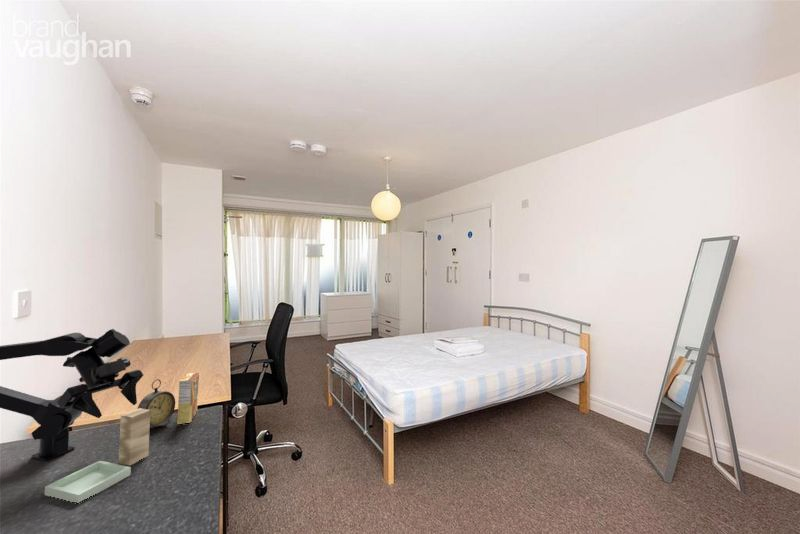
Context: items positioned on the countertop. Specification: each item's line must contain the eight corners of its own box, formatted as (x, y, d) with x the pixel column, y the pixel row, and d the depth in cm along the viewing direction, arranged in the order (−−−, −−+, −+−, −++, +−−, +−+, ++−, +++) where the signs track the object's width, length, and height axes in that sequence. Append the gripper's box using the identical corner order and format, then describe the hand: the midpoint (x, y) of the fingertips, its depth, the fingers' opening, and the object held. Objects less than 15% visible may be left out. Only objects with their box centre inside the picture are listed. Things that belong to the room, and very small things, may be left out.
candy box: (184, 415, 118) (186, 373, 118) (197, 413, 119) (199, 372, 120) (176, 425, 110) (178, 380, 110) (190, 424, 111) (192, 379, 111)
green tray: (44, 495, 74) (45, 486, 74) (99, 468, 85) (99, 460, 85) (78, 504, 72) (78, 495, 72) (130, 475, 82) (130, 467, 82)
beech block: (118, 463, 87) (120, 415, 88) (137, 453, 92) (139, 408, 93) (129, 465, 86) (131, 417, 87) (148, 455, 91) (150, 409, 92)
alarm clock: (145, 436, 102) (147, 385, 103) (131, 434, 103) (134, 383, 104) (175, 421, 113) (177, 375, 113) (163, 419, 114) (165, 374, 114)
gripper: (67, 357, 84) (96, 404, 81) (140, 344, 102) (166, 381, 99) (45, 385, 86) (72, 432, 83) (120, 366, 104) (145, 404, 101)
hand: (118, 410), depth 91 cm, fingers open, 9 cm apart
